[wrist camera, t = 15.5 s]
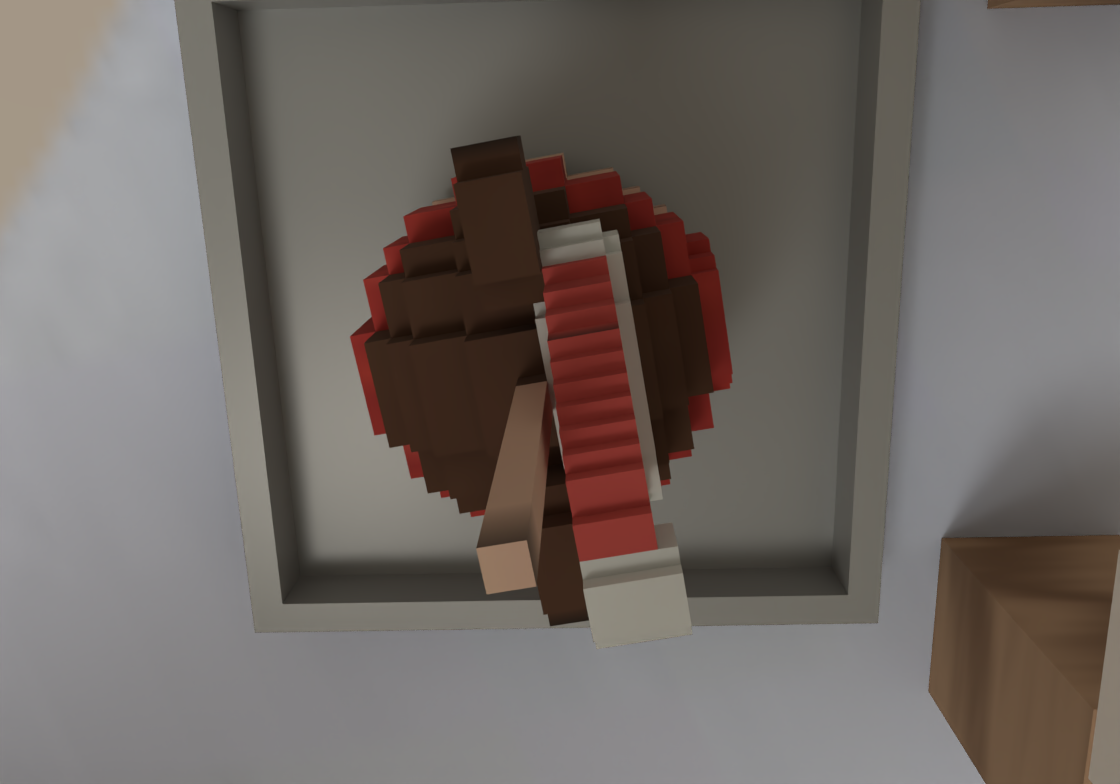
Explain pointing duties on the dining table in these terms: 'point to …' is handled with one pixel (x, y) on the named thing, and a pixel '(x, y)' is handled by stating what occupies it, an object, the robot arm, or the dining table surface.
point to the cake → (551, 378)
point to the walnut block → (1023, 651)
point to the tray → (588, 144)
